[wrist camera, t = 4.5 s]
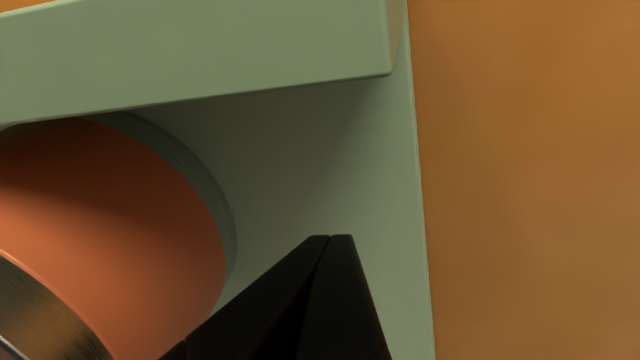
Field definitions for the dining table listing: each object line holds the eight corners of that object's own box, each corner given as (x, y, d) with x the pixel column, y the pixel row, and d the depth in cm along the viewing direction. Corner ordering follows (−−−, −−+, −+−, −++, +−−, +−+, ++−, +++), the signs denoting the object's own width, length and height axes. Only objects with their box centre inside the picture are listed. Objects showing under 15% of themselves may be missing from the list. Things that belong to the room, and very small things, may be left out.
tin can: (195, 85, 9) (-47, 229, 4) (265, 312, 12) (165, 546, 7) (-32, 117, 11) (-380, 244, 6) (77, 308, 14) (-102, 496, 9)
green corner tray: (402, -58, 8) (377, -70, 3) (441, 424, 15) (452, 658, 10) (-211, 70, 13) (-583, 140, 8) (20, 388, 20) (-111, 533, 15)
